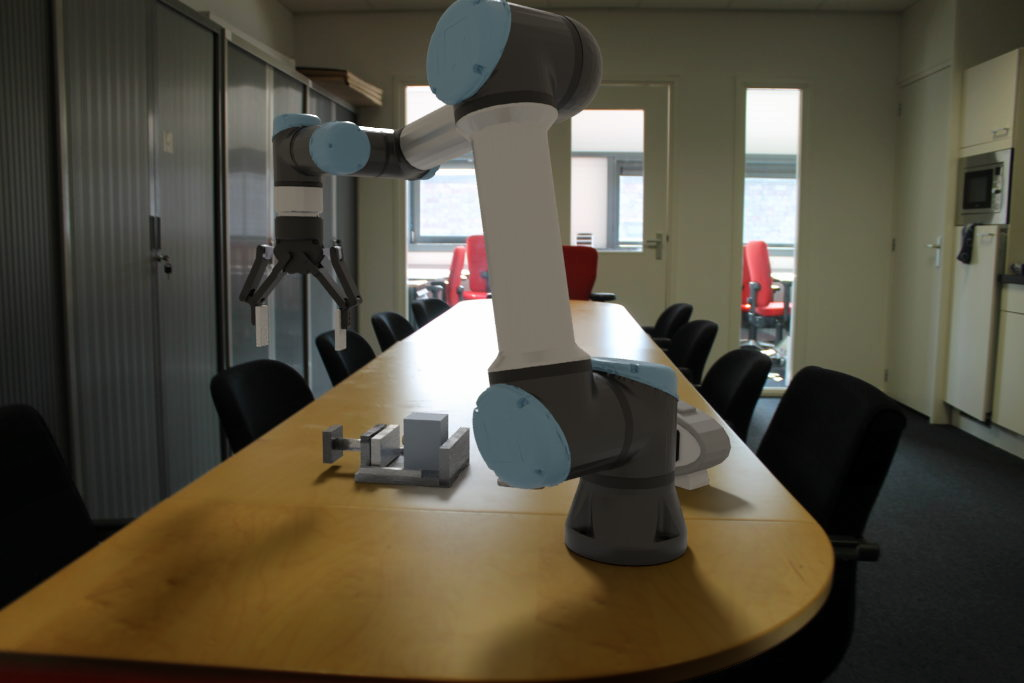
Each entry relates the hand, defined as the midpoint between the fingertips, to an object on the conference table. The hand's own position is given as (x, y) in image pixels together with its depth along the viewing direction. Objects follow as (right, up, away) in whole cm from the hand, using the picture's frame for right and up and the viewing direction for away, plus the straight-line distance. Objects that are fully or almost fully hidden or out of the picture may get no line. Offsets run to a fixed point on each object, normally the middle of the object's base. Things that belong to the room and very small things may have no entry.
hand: (301, 347), depth 135 cm
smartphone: (+37, -21, -1) cm, 43 cm away
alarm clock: (+57, -21, -2) cm, 61 cm away
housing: (+20, -19, -2) cm, 28 cm away
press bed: (+19, -20, -1) cm, 27 cm away
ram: (+9, -18, 0) cm, 21 cm away
